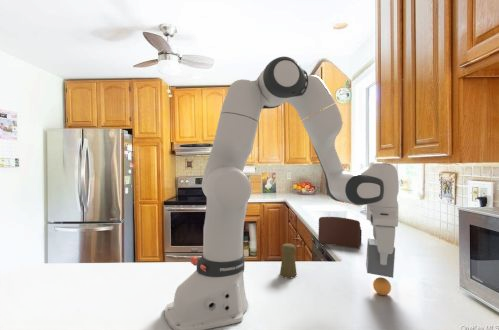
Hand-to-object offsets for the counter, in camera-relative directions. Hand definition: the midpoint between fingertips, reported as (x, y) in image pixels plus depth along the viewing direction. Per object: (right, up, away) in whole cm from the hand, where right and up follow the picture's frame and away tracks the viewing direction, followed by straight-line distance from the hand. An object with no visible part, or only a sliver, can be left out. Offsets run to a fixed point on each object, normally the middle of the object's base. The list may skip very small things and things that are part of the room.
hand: (381, 259), depth 84 cm
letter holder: (+5, -11, +54) cm, 56 cm away
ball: (0, -8, 0) cm, 8 cm away
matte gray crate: (-1, -4, 0) cm, 4 cm away
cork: (-27, -11, +14) cm, 32 cm away
